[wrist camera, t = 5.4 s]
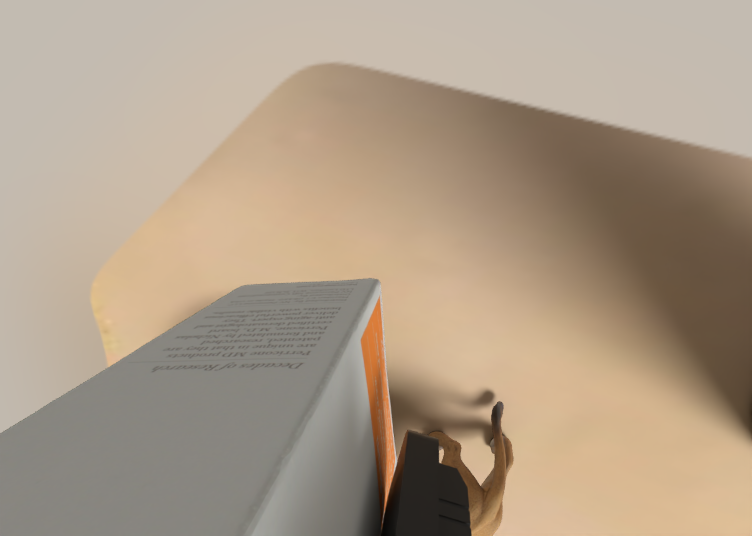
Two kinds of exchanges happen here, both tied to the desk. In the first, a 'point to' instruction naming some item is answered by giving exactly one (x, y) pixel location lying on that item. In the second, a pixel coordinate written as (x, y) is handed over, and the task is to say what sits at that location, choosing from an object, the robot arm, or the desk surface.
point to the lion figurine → (488, 495)
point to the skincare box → (220, 427)
